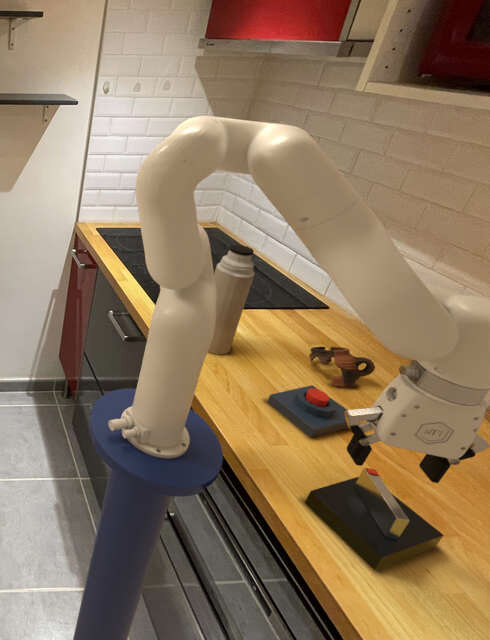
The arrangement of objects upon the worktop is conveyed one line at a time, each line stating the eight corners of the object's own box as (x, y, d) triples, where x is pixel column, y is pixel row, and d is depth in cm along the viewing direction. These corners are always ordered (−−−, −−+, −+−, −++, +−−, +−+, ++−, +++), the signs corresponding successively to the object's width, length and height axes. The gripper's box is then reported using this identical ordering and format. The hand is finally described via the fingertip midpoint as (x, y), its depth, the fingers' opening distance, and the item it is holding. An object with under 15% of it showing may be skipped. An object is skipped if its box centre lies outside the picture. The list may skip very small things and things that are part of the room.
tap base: (374, 569, 66) (382, 557, 65) (304, 502, 76) (310, 490, 75) (435, 547, 70) (444, 535, 68) (360, 485, 79) (367, 473, 78)
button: (317, 408, 91) (320, 402, 91) (300, 396, 95) (303, 390, 94) (330, 405, 92) (333, 399, 92) (314, 393, 95) (316, 387, 95)
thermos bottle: (201, 331, 122) (227, 238, 110) (233, 344, 117) (265, 247, 105) (191, 344, 116) (218, 247, 105) (224, 358, 111) (257, 258, 100)
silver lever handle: (397, 540, 68) (410, 520, 66) (384, 537, 68) (397, 517, 66) (364, 488, 75) (375, 468, 74) (353, 486, 76) (364, 466, 74)
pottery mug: (319, 387, 103) (314, 351, 104) (305, 379, 112) (300, 345, 113) (385, 388, 98) (379, 350, 99) (365, 379, 107) (360, 345, 108)
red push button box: (310, 437, 89) (317, 422, 87) (267, 402, 98) (272, 387, 96) (355, 426, 92) (362, 411, 90) (309, 392, 101) (315, 378, 99)
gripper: (387, 385, 60) (337, 472, 68) (548, 415, 57) (476, 504, 64) (358, 351, 67) (315, 433, 74) (500, 376, 63) (440, 460, 70)
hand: (390, 466), depth 69 cm, fingers open, 9 cm apart
